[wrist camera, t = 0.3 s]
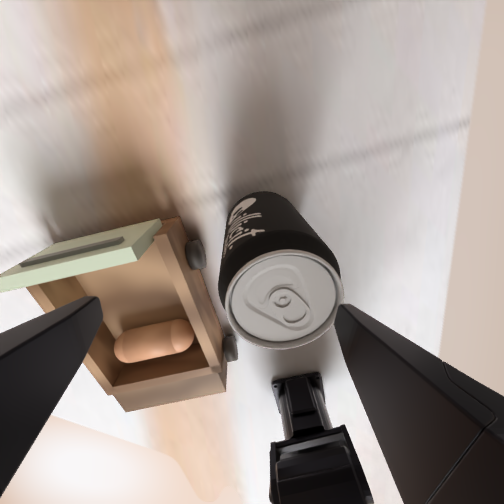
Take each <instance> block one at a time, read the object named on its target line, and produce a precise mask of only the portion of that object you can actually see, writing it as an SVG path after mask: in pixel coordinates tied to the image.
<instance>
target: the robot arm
mask: <svg viewBox="0 0 504 504" xmlns="http://www.w3.org/2000/svg"><path fill="white" fill-rule="evenodd" d="M102 320H103V311H102V307H101V302H100V299H99V297H97V296H84V297H82V298H80V299H77V300H75V301H73V302H71V303H68V304H66V305H64V306H61V307H59V308H57V309H55V310H52V311H50V312H48V313H46V314H43V315H41V316H39V317H37V318H34V319H32V320H30V321H27V322H25V323H23V324H21V325H18V326H16V327H14V328H12V329H9V330H7V331H5V332H3V333H0V497H1V496H2V494H3V493H4V491H5V489H6V488H7V486H8V484H9V483H10V481H11V479H12V477H13V476H14V474H15V473H16V471H17V469H18V468H19V466H20V464H21V463H22V461H23V460H24V458H25V456H26V454H27V453H28V451H29V450H30V448H31V446H32V445H33V443H34V441H35V440H36V438H37V436H38V435H39V433H40V431H41V430H42V428H43V426H44V425H45V423H46V422H47V420H48V418H49V416H50V415H51V413H52V412H53V410H54V408H55V407H56V405H57V403H58V402H59V400H60V399H61V397H62V395H63V394H64V392H65V390H66V389H67V387H68V385H69V384H70V382H71V380H72V379H73V377H74V375H75V374H76V372H77V370H78V369H79V367H80V365H81V364H82V362H83V360H84V358H85V356H86V354H87V352H88V350H89V348H90V346H91V344H92V342H93V340H94V338H95V336H96V333H97V331H98V329H99V327H100V325H101V323H102ZM334 325H335V329H336V333H337V336H338V340H339V343H340V346H341V350H342V353H343V356H344V360H345V363H346V365H347V368H348V370H349V373H350V375H351V377H352V380H353V382H354V385H355V387H356V390H357V392H358V394H359V397H360V399H361V402H362V404H363V406H364V409H365V411H366V414H367V416H368V418H369V421H370V423H371V426H372V428H373V431H374V433H375V435H376V438H377V440H378V443H379V445H380V447H381V450H382V452H383V455H384V457H385V459H386V462H387V464H388V467H389V469H390V471H391V474H392V476H393V479H394V481H395V484H396V486H397V488H398V491H399V493H400V496H401V498H402V500H403V503H404V504H504V396H502V395H500V394H499V393H497V392H495V391H493V390H492V389H490V388H488V387H486V386H485V385H483V384H481V383H479V382H477V381H476V380H474V379H472V378H471V377H469V376H467V375H466V374H464V373H462V372H460V371H459V370H457V369H456V368H454V367H452V366H451V365H449V364H447V363H446V362H442V360H441V359H439V358H438V357H436V356H434V355H433V354H431V353H429V352H428V351H426V350H425V349H423V348H421V347H420V346H418V345H416V344H415V343H413V342H412V341H410V340H408V339H407V338H405V337H403V336H402V335H400V334H398V333H397V332H395V331H394V330H392V329H390V328H389V327H387V326H385V325H384V324H382V323H381V322H379V321H377V320H376V319H374V318H372V317H371V316H369V315H367V314H366V313H364V312H363V311H361V310H359V309H358V308H356V307H354V306H353V305H351V304H340V305H339V306H338V309H337V313H336V317H335V321H334ZM272 389H273V393H274V396H275V399H276V403H277V406H278V410H279V413H280V414H281V417H282V424H283V430H284V436H285V440H283V441H279V442H271V451H270V489H269V499H270V502H271V503H272V504H374V501H373V497H372V494H371V491H370V488H369V485H368V483H367V480H366V477H365V474H364V472H363V469H362V466H361V464H360V461H359V459H358V456H357V454H356V451H355V449H354V446H353V444H352V441H351V439H350V436H349V434H348V431H347V429H346V426H345V424H344V425H340V427H336V428H333V427H332V424H331V421H330V418H329V415H328V412H327V409H326V406H325V397H324V390H323V384H322V377H321V374H320V373H312V374H307V375H302V376H297V377H292V378H287V379H283V380H278V381H274V382H272Z"/></svg>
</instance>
